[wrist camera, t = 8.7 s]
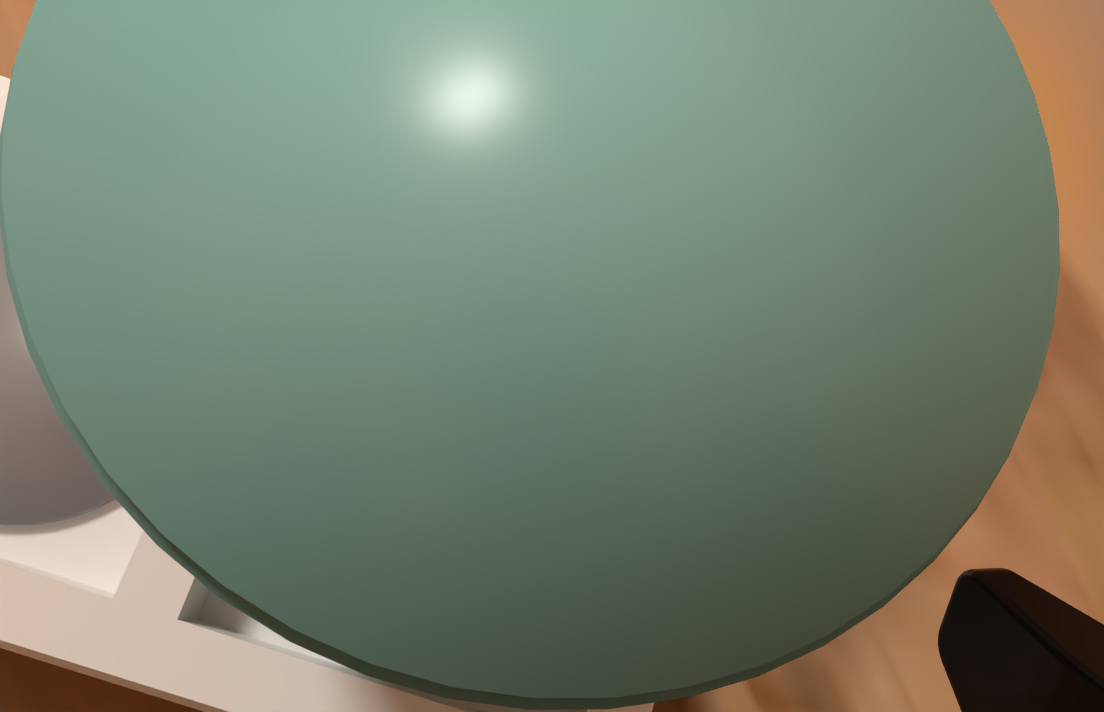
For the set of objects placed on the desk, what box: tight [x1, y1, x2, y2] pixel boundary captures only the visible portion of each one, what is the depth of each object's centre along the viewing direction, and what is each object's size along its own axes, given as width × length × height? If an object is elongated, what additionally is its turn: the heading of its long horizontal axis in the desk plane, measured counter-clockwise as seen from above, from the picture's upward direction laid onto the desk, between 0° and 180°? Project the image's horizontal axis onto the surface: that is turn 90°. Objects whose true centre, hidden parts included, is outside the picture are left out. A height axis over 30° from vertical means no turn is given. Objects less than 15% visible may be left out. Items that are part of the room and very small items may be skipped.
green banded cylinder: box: [0, 0, 1060, 710], centre depth 10 cm, size 5×5×13 cm
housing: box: [0, 76, 654, 712], centre depth 16 cm, size 9×16×2 cm, turn 73°
